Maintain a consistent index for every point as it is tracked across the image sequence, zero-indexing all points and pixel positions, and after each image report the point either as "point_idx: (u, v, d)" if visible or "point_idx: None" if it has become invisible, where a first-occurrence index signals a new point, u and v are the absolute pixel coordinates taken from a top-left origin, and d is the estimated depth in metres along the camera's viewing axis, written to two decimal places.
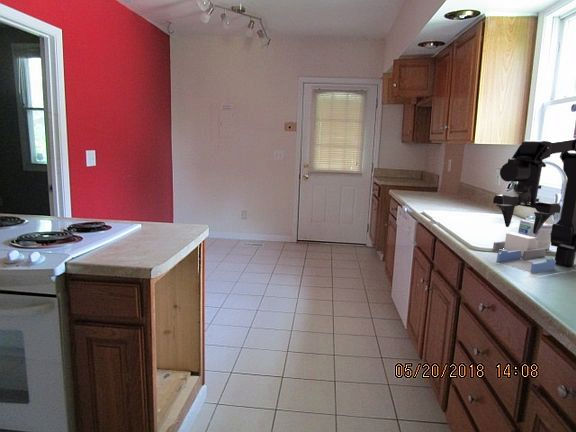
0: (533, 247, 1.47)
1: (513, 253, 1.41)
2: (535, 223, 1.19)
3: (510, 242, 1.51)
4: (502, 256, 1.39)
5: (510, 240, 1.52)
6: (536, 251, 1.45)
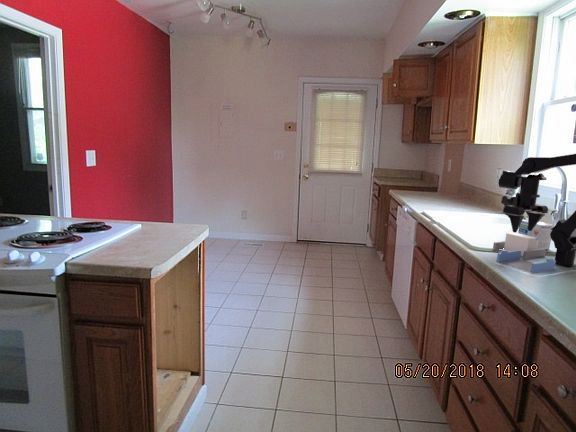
0: (533, 247, 1.47)
1: (513, 253, 1.41)
2: None
3: (510, 242, 1.51)
4: (502, 256, 1.39)
5: (510, 240, 1.52)
6: (536, 251, 1.45)
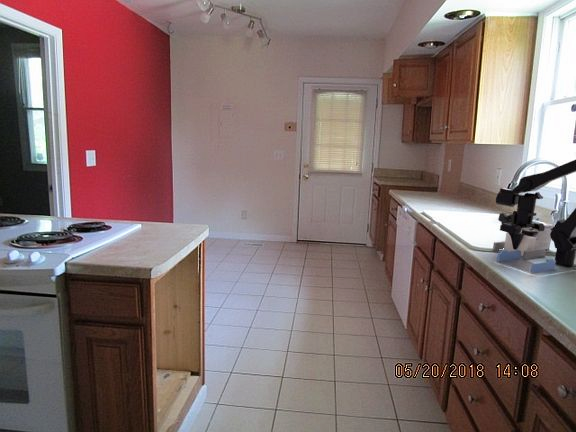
0: (533, 247, 1.47)
1: (513, 253, 1.41)
2: None
3: (510, 242, 1.51)
4: (502, 256, 1.39)
5: (510, 240, 1.52)
6: (536, 251, 1.45)
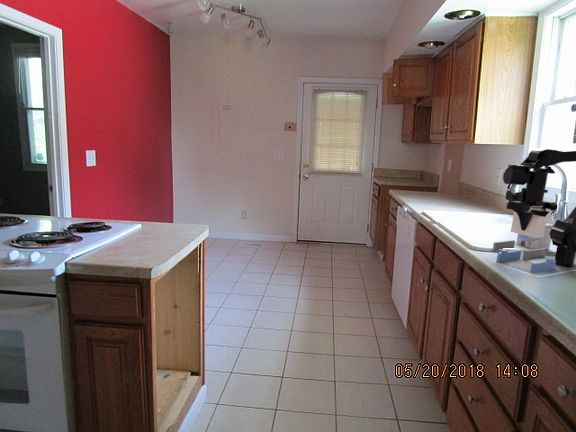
0: (543, 227, 1.34)
1: (513, 253, 1.41)
2: None
3: (518, 222, 1.38)
4: (502, 256, 1.39)
5: (518, 220, 1.38)
6: (536, 251, 1.45)
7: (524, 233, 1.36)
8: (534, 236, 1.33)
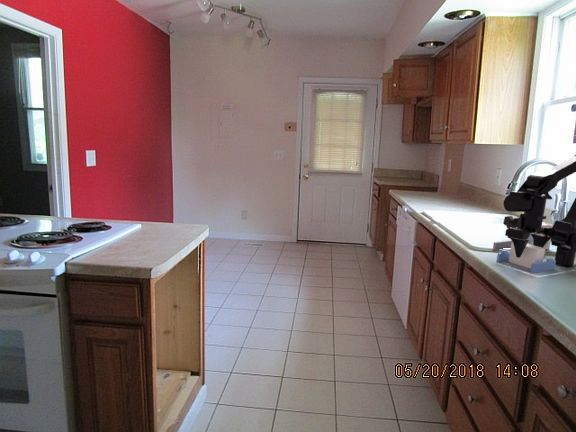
0: (541, 259, 1.32)
1: None
2: None
3: None
4: (502, 256, 1.39)
5: None
6: None
7: (522, 264, 1.34)
8: None
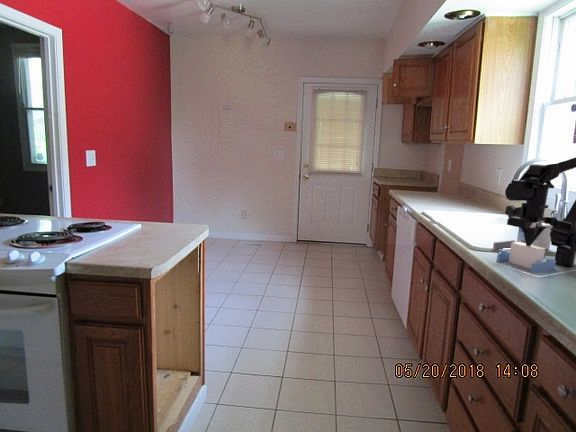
0: (541, 259, 1.32)
1: None
2: None
3: (516, 253, 1.36)
4: (502, 256, 1.39)
5: (515, 250, 1.36)
6: None
7: (522, 264, 1.34)
8: None
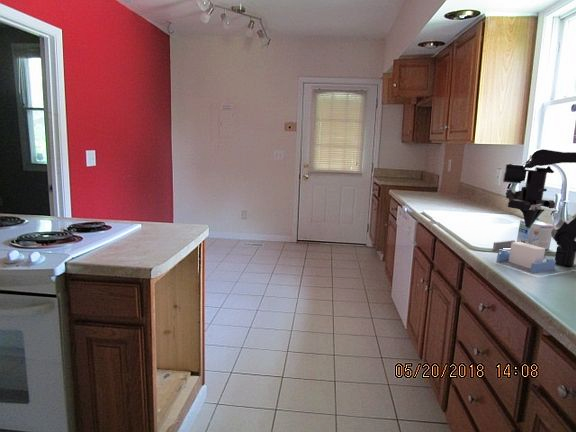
0: (541, 259, 1.32)
1: None
2: None
3: (516, 253, 1.36)
4: (502, 256, 1.39)
5: (515, 250, 1.36)
6: None
7: (522, 264, 1.34)
8: None
